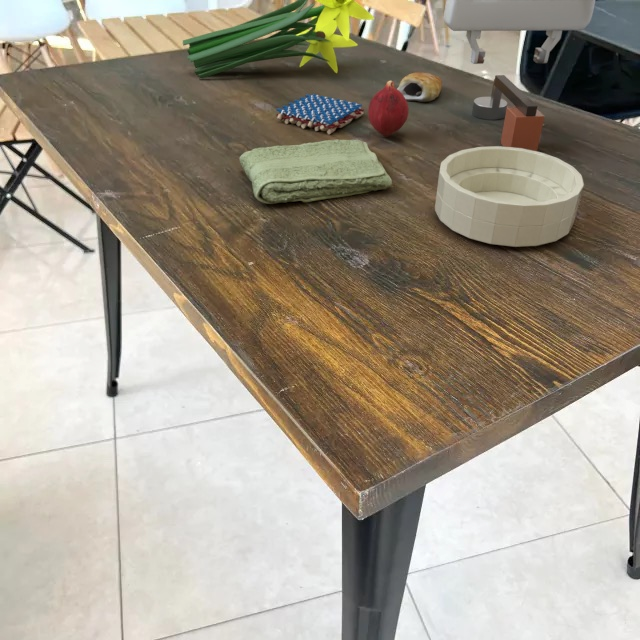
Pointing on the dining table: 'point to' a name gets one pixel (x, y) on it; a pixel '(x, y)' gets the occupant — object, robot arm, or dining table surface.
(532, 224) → the bowl
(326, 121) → the woven mat
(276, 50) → the daffodil flowers
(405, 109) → the onion
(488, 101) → the ladle
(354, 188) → the washcloth
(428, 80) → the pastry
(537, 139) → the terracotta upright block
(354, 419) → the dining table surface
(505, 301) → the dining table surface
